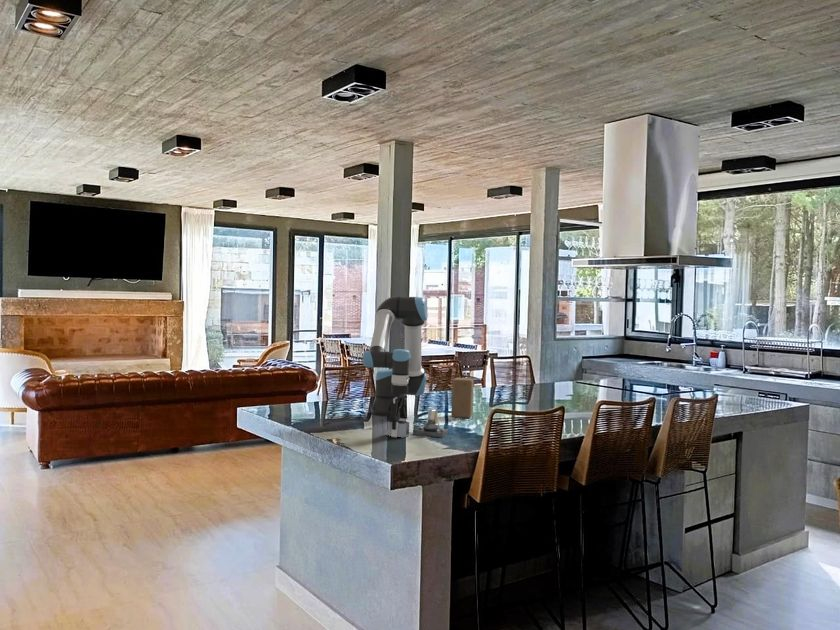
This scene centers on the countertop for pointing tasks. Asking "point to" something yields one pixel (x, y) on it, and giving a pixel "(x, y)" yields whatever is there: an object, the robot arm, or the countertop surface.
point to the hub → (399, 428)
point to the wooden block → (462, 397)
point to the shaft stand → (431, 426)
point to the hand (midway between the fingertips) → (398, 434)
